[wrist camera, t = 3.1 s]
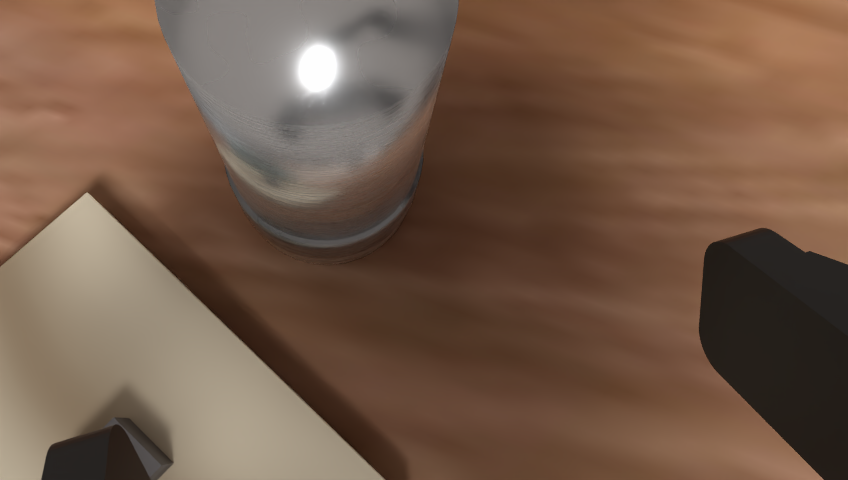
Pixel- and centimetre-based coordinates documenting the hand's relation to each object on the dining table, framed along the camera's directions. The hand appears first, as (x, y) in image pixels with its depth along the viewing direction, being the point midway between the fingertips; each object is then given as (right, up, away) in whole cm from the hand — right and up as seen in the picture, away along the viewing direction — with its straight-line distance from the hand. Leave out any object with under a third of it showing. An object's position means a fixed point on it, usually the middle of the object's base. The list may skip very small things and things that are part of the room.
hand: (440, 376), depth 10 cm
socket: (-3, +3, +12) cm, 13 cm away
